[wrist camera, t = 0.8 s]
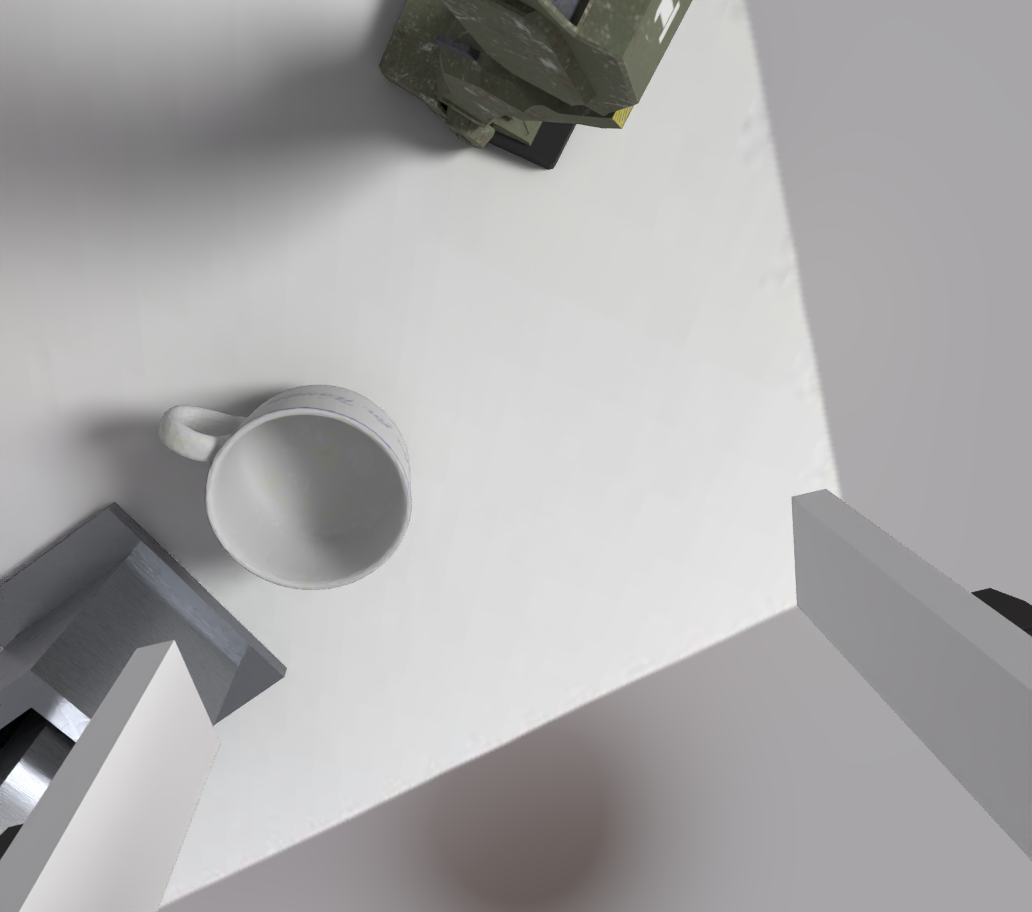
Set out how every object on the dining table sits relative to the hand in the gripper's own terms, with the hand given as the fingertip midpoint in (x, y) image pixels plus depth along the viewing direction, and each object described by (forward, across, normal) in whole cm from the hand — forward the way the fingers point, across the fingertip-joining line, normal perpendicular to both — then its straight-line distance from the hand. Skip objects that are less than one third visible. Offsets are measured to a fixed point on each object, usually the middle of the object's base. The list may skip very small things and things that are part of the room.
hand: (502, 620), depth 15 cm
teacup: (+30, -10, -4) cm, 32 cm away
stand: (+30, -25, -15) cm, 42 cm away
